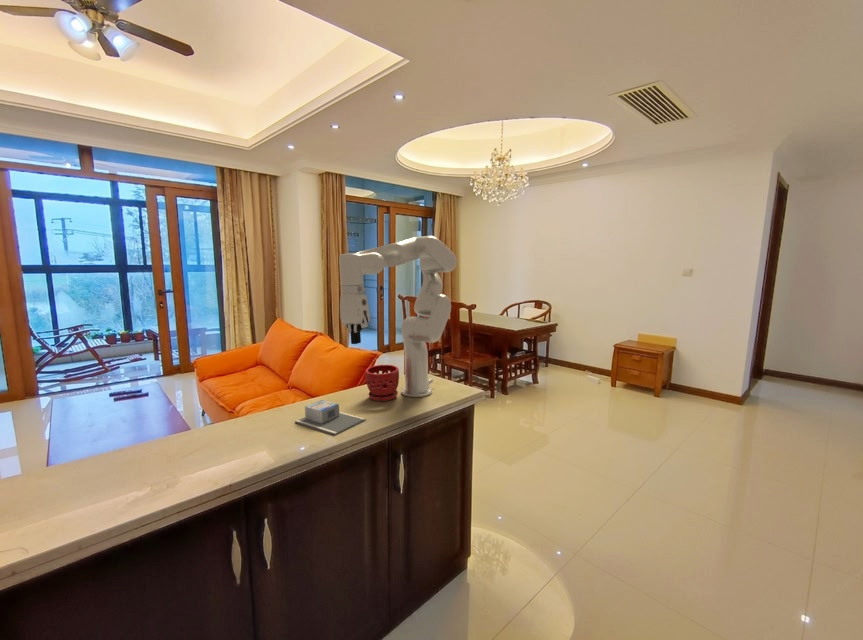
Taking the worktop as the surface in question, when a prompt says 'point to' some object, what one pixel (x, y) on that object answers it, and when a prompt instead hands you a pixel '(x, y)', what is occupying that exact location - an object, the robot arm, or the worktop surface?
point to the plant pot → (382, 382)
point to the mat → (333, 423)
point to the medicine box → (322, 411)
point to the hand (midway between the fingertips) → (356, 343)
